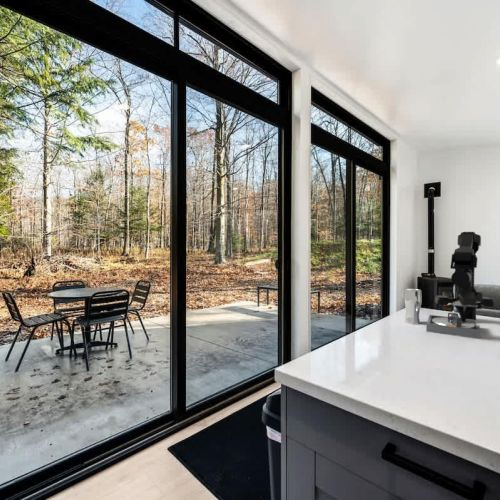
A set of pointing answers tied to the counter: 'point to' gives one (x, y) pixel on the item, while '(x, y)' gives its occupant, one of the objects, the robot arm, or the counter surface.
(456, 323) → the dial
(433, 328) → the dial base
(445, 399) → the counter surface
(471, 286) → the robot arm
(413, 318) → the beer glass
